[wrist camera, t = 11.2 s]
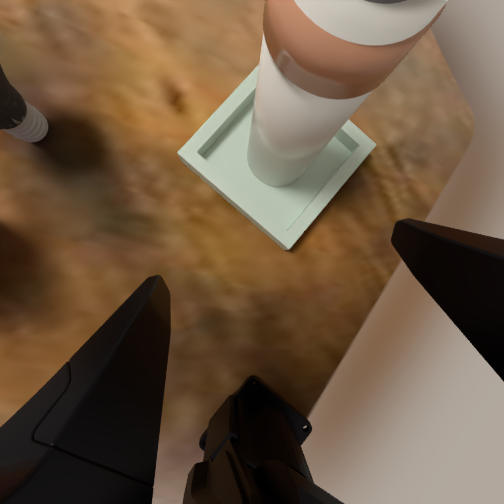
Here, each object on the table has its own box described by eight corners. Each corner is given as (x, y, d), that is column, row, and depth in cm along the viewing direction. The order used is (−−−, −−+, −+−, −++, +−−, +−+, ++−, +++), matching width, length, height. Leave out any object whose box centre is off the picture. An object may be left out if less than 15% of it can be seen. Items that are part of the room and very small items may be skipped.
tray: (365, 153, 20) (376, 144, 18) (284, 250, 19) (289, 249, 17) (268, 67, 19) (272, 50, 18) (181, 162, 19) (177, 152, 17)
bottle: (320, 151, 19) (559, -140, 5) (284, 200, 19) (438, 33, 5) (270, 112, 19) (378, -307, 5) (232, 162, 18) (234, -136, 4)
